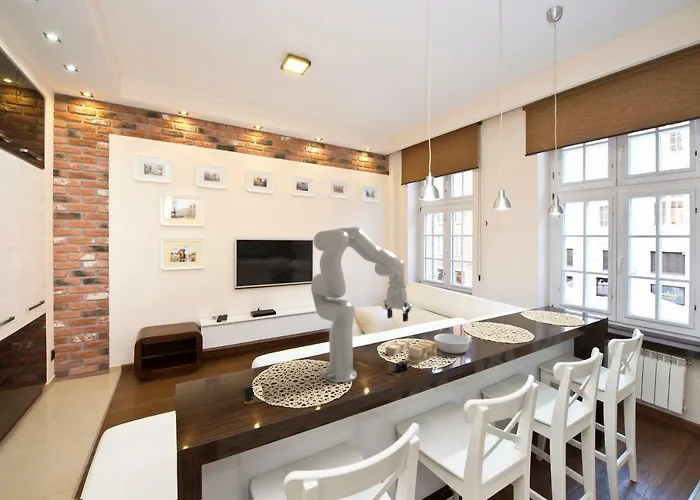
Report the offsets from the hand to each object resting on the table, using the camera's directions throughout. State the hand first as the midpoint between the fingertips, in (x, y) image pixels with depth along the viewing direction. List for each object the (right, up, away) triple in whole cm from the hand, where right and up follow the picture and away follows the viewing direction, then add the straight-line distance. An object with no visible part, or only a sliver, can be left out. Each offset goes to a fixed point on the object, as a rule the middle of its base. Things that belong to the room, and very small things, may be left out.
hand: (397, 319), depth 151 cm
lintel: (0, -17, 0) cm, 17 cm away
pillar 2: (+13, -16, -7) cm, 22 cm away
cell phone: (-59, -19, -41) cm, 74 cm away
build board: (+10, -17, -9) cm, 22 cm away
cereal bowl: (+27, -17, 0) cm, 32 cm away
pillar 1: (+7, -16, -12) cm, 21 cm away
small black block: (-2, -18, -23) cm, 29 cm away
